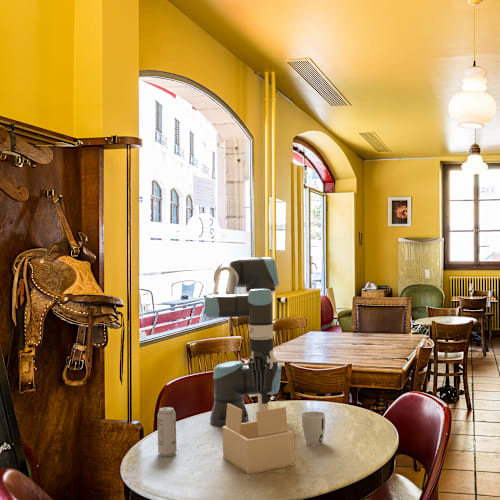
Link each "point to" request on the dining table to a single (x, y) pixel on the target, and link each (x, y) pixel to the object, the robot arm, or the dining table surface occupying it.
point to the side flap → (234, 418)
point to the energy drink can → (166, 431)
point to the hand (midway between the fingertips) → (263, 413)
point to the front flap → (271, 421)
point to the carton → (257, 448)
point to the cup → (313, 427)
